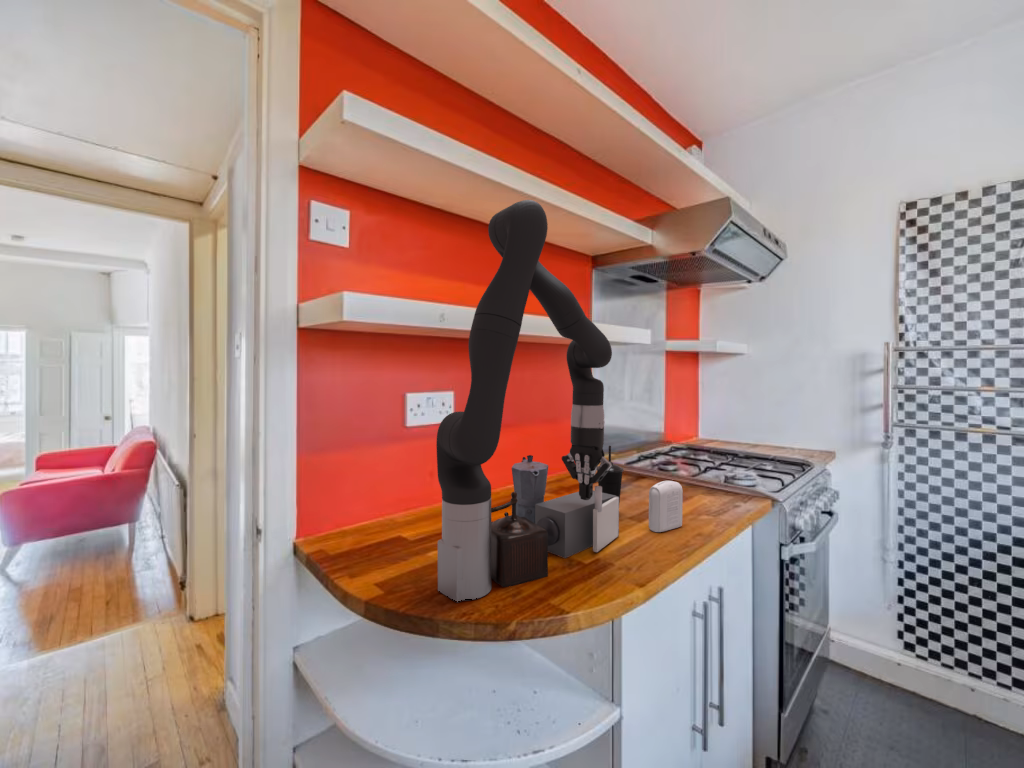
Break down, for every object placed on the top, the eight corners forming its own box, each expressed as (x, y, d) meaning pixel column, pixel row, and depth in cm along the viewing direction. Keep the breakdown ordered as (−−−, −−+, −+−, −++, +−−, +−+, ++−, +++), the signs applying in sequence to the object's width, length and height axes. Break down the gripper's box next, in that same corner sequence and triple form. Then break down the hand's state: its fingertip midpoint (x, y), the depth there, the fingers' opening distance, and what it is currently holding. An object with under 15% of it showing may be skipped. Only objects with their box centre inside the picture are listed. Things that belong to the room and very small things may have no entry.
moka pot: (519, 544, 105) (519, 460, 104) (503, 523, 119) (503, 450, 119) (556, 540, 107) (557, 458, 107) (536, 520, 122) (536, 448, 122)
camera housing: (561, 560, 96) (561, 514, 96) (531, 548, 102) (531, 505, 102) (616, 535, 111) (616, 495, 110) (586, 526, 117) (587, 489, 117)
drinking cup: (621, 511, 130) (621, 443, 129) (625, 520, 122) (625, 448, 122) (594, 511, 130) (595, 443, 130) (597, 519, 123) (597, 447, 122)
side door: (599, 552, 99) (599, 488, 98) (592, 551, 100) (593, 487, 99) (621, 535, 109) (621, 477, 109) (615, 534, 110) (615, 476, 110)
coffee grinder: (522, 556, 98) (522, 475, 98) (549, 576, 88) (549, 487, 88) (456, 571, 91) (456, 484, 90) (478, 595, 81) (477, 497, 80)
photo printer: (671, 522, 121) (671, 477, 120) (684, 526, 117) (685, 480, 117) (645, 529, 115) (646, 482, 115) (659, 534, 111) (660, 485, 111)
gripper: (554, 423, 103) (552, 496, 103) (604, 428, 94) (602, 509, 95) (572, 420, 108) (570, 490, 109) (621, 425, 100) (619, 501, 100)
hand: (585, 499), depth 102 cm, fingers closed
